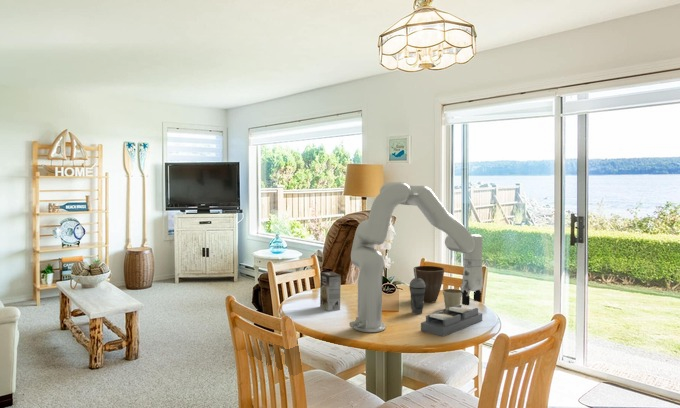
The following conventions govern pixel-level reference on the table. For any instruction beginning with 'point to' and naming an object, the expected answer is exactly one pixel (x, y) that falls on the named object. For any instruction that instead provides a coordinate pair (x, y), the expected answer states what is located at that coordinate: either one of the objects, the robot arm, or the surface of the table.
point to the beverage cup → (417, 294)
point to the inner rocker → (440, 316)
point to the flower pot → (451, 297)
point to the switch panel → (450, 321)
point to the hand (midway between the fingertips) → (471, 302)
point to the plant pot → (430, 281)
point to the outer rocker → (458, 309)
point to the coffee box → (330, 291)
